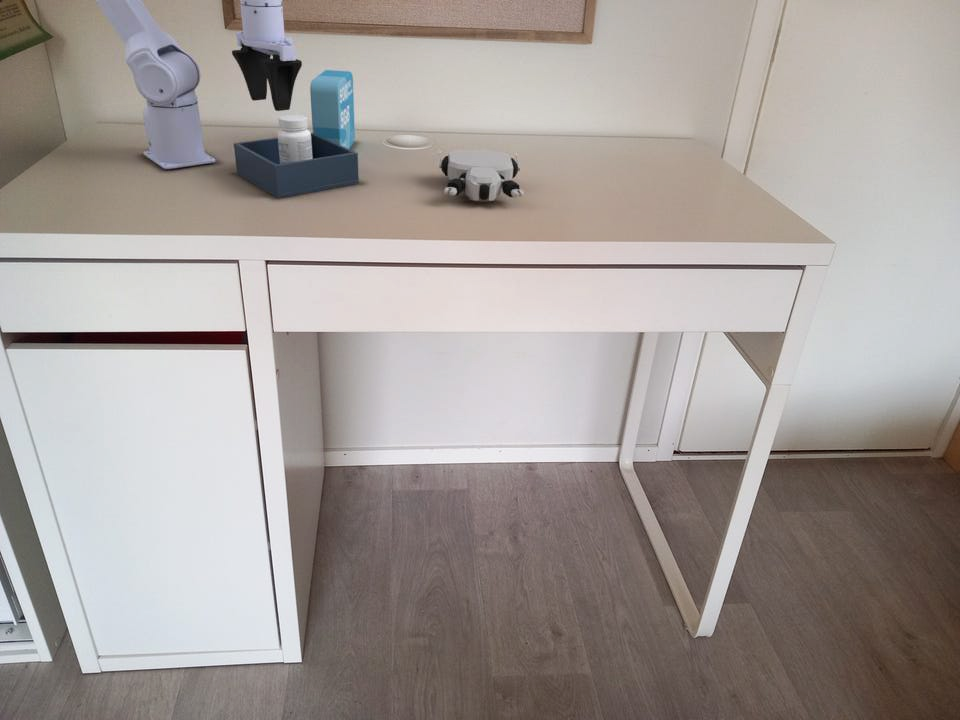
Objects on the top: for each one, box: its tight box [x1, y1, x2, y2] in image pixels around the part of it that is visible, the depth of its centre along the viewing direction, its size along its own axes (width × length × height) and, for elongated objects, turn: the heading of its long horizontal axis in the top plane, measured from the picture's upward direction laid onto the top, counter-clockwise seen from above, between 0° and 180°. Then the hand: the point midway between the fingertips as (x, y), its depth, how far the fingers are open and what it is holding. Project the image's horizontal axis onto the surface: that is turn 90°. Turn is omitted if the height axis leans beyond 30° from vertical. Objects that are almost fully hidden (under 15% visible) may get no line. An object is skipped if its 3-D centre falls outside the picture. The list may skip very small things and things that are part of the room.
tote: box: [233, 132, 360, 199], centre depth 109 cm, size 13×13×5 cm
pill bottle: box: [277, 113, 313, 164], centre depth 108 cm, size 5×5×8 cm
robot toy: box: [438, 148, 525, 203], centre depth 109 cm, size 12×4×15 cm
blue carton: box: [309, 69, 356, 149], centre depth 122 cm, size 12×4×12 cm, turn 178°
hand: (270, 104), depth 110 cm, fingers open, 7 cm apart
